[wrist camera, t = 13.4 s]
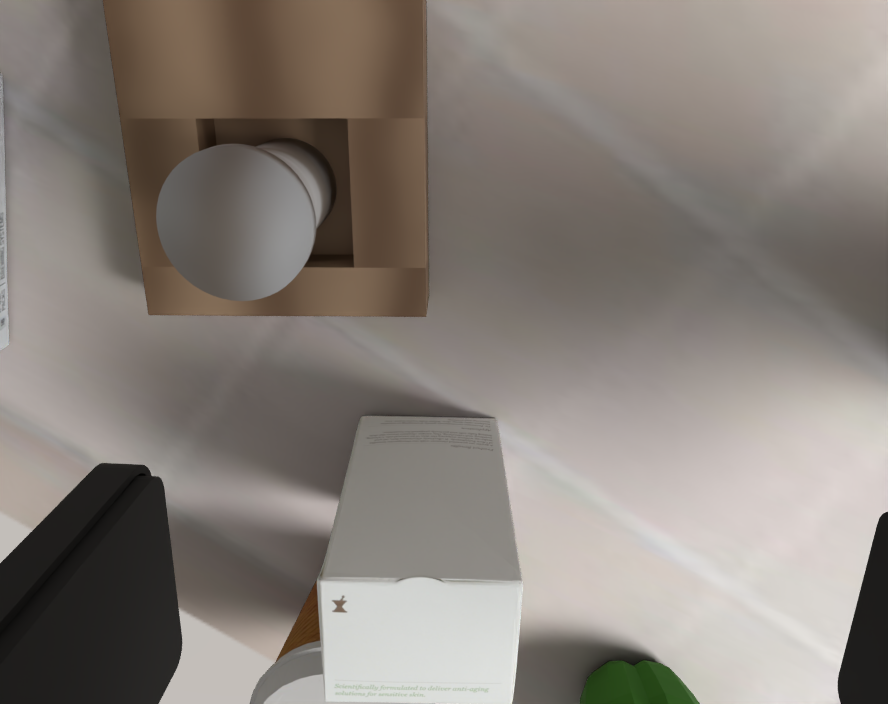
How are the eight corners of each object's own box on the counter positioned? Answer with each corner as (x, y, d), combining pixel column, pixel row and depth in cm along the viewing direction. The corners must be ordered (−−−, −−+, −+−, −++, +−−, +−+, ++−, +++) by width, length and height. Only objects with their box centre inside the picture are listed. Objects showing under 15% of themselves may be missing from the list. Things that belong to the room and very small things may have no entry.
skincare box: (360, 505, 46) (312, 708, 32) (359, 405, 44) (306, 576, 30) (498, 510, 46) (514, 716, 32) (505, 411, 44) (524, 584, 29)
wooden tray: (424, -238, 33) (406, -369, 23) (429, 296, 42) (417, 371, 32) (103, -235, 33) (-53, -362, 23) (173, 295, 42) (80, 369, 32)
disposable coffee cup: (473, 571, 48) (476, 727, 37) (389, 668, 51) (367, 840, 40) (345, 493, 46) (307, 632, 35) (265, 598, 49) (206, 757, 38)
